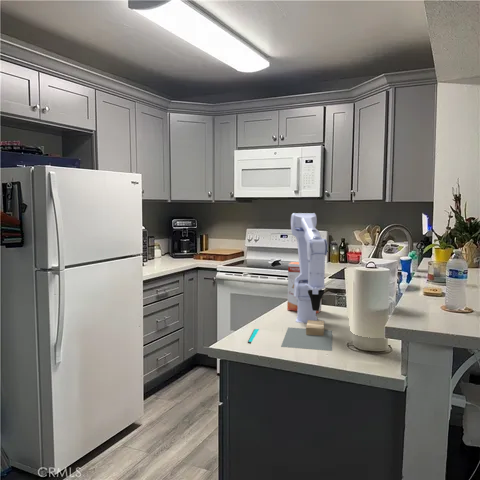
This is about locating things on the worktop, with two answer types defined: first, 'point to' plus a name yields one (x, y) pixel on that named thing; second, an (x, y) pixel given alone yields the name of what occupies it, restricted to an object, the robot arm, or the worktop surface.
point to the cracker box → (292, 274)
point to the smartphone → (253, 335)
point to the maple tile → (315, 327)
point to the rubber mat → (307, 340)
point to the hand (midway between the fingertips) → (315, 310)
